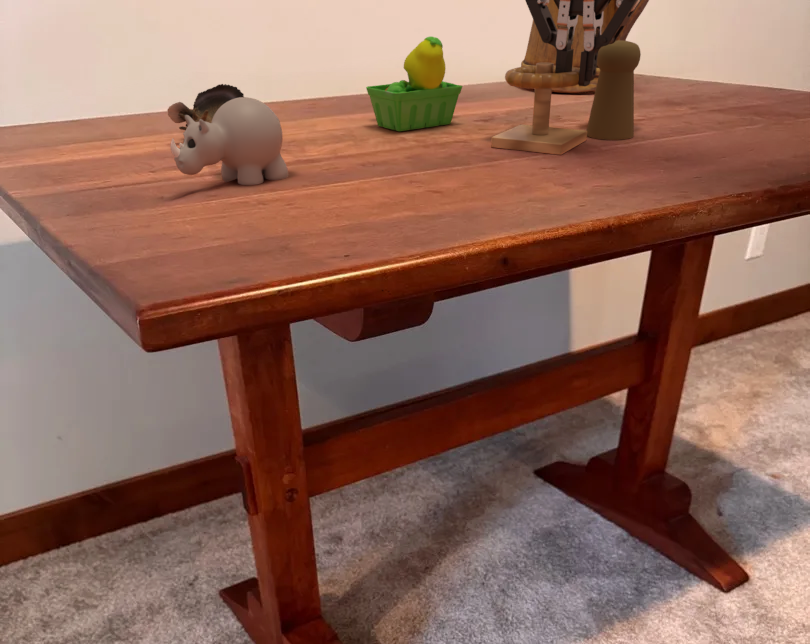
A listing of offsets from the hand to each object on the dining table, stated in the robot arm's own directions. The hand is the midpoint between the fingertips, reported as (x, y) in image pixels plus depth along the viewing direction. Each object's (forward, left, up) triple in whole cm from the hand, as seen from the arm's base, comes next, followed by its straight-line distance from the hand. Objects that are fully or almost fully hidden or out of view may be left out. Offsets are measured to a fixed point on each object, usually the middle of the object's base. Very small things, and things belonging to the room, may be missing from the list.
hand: (574, 84), depth 93 cm
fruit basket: (+23, -3, -7) cm, 24 cm away
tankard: (+14, -45, -7) cm, 48 cm away
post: (+4, 0, -7) cm, 8 cm away
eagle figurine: (+42, +17, -7) cm, 46 cm away
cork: (-2, -9, -7) cm, 12 cm away
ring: (+4, 0, +1) cm, 4 cm away
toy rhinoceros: (+24, +34, -7) cm, 42 cm away
